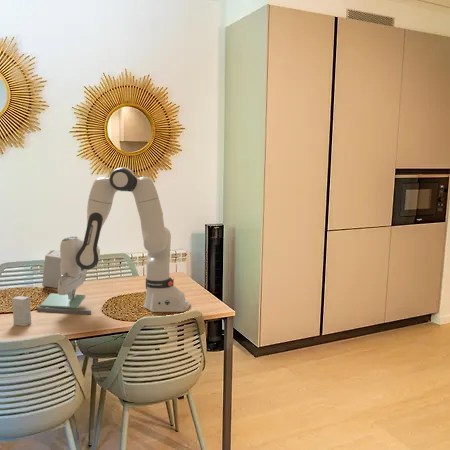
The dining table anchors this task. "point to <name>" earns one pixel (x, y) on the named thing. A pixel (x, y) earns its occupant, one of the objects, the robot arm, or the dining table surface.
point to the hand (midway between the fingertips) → (71, 298)
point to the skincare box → (21, 310)
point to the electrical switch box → (52, 269)
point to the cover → (62, 301)
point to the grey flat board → (63, 310)
